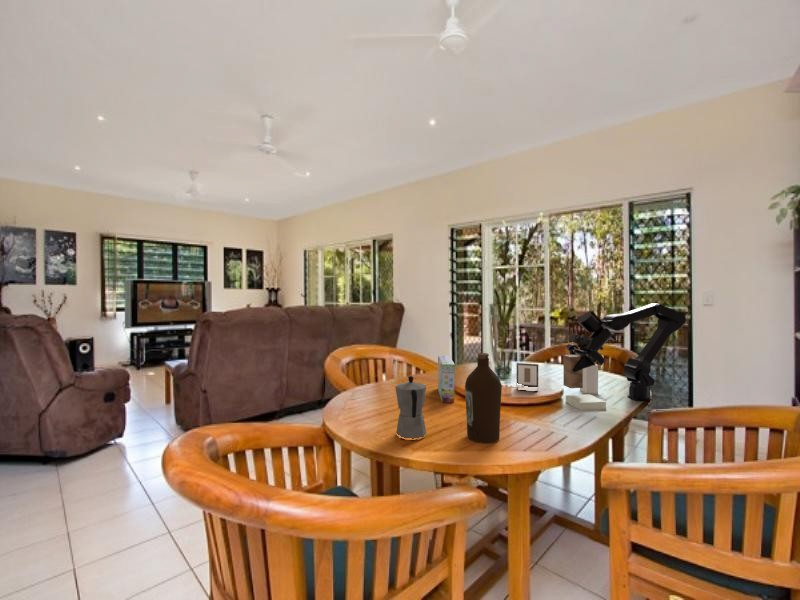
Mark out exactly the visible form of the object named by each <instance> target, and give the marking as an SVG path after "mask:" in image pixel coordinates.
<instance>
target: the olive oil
mask: <svg viewBox="0 0 800 600" xmlns="http://www.w3.org/2000/svg"><path fill="white" fill-rule="evenodd" d="M489 356H490V354H489V353H486V352H478V353H477V358H476V359H477V360H476V362H477V366H476V367H475V368H474V369H473V370H472V371H471V372H470V374H469V375H468V376H467V377H466V380H465V384H464V393H465V396H464V397H465V410H466V411H465V413H466V435H467V436H468V437H467V436H466V437H467V438H468V439H469V440H470V439H471V440H470V441H472V440H473V442H475V443H479V442H482V443H481V444H492V443H491V442H493V443H496V442H498V441H499V439H500V432H501V429H500V428H501V410H502V409H501V407H502V389H503V388H502V382H501V379H500V378H499V376H498V375H497V374H496V373H495V372H494V370H493V369H491V367H490V359H489ZM497 440H498V441H497ZM495 441H496V442H495Z"/></svg>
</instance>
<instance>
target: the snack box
mask: <svg viewBox="0 0 800 600" xmlns="http://www.w3.org/2000/svg"><path fill="white" fill-rule="evenodd" d="M437 357H438V359H437V389H438V390H437V391H438V393H439V398H440V401H441V402H442V403H455V387H456V386H455V385H456V384H455V383H456V381H455V380H456V379H455V378H456V377H455V375H456V364H455V363H454V361H453V360H452V357H451V356H450V355H438V356H437Z"/></svg>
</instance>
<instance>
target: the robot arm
mask: <svg viewBox="0 0 800 600" xmlns="http://www.w3.org/2000/svg"><path fill="white" fill-rule="evenodd" d="M652 316H654V318H657V319H658V320H657V328H656V329H655V331H654V333H653V334H652V336H650V338H649V340H648V341H647V342H646V344H645V345H644V347H643V348H642V350H641V352H640V353H639V354H638V356H636V357H635V358H633V357H629V358H628V360H627V361H626V363H624V364H623V366H624V367H623V375H624V376H625V377H626V380H627V382H630V383H629V388H628V395H627V398H630V399H632V400H634V401H638V402H642V401H643V402H647V401H648V402H649V401H654V399H653V398H651V386H652V387H653V386H654V384H655V379H654V378H653V377H652V376H651V375H650V373H651V371H652V370H651V369H652V368H651V367H652V366H651V364H652V362H653V360H654V359H655V357H657V355H658V353H659V352H660V351H661V349H662V348H663V346H664V345H665V343H666V342H667V341H668V339H669V338H670V336H671V334H674V333H675V332H677V331H678V330H680V329H681V327H683V326H684V325H685V323H686V321H687V318H686V314H685V313H684V312H683V311H677V310H675V309H672V308H669V307H667V306H666V305H664V304H661V303H658V302H657V303H656V302H653V303H649V304H646V305H644V306H641V307H639V308H635V309H632V310H629V311H626V312H623V313H622V312H621V313H613V314H607V315H605V316H603V318H602V317H601V318H599V317H598V316H597V314H596V313H595V311H594V310H588V312H585V313H584V314H582V315H580V316H579V317H578V318H577V323H578V324H579V325H580V326H581V327H582V328H583V329H584V330H585V331H586V332H588V333H591V334H590V336H589V335H587V334H581V335H580V334H576V333H571V335H570V336H569V339H568V341H569V342H572V343H568V344H567V345H565V350H567V351H568V352H569V355H579V356H581V359H580V360H579V361H578V363H577V364H576V365H575V367H574V368H573V371H574V372H576V371H579V370H581V369H584V368H587V367H590V366H593V365H595V364H597V365H598V366H600V367H602V366H603V364H605V363H606V362H605V360H606V359H605V358H604V356H603V355H602V354H601V353H600V352H599V351H603V350H604V347H603V346H604V345H605V344H606V343H607V342H608V340H612V341H616V340H617V337H616V333H614V332H611V331H616V332H617V331H618V332H619V331H621V330H624V329H625V328H627V327H628V326H629V325H630V324H632V323H634V322H637V321H641V320H643V319H645V318H649V317H652ZM610 330H611V331H610ZM573 343H574V344H573Z"/></svg>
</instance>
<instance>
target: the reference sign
mask: <svg viewBox="0 0 800 600" xmlns="http://www.w3.org/2000/svg"><path fill="white" fill-rule="evenodd" d="M517 383H518V384H522V385H524V386H528V387H538V388H539V363H525V362H524V363H522V362H516V384H517Z"/></svg>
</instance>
